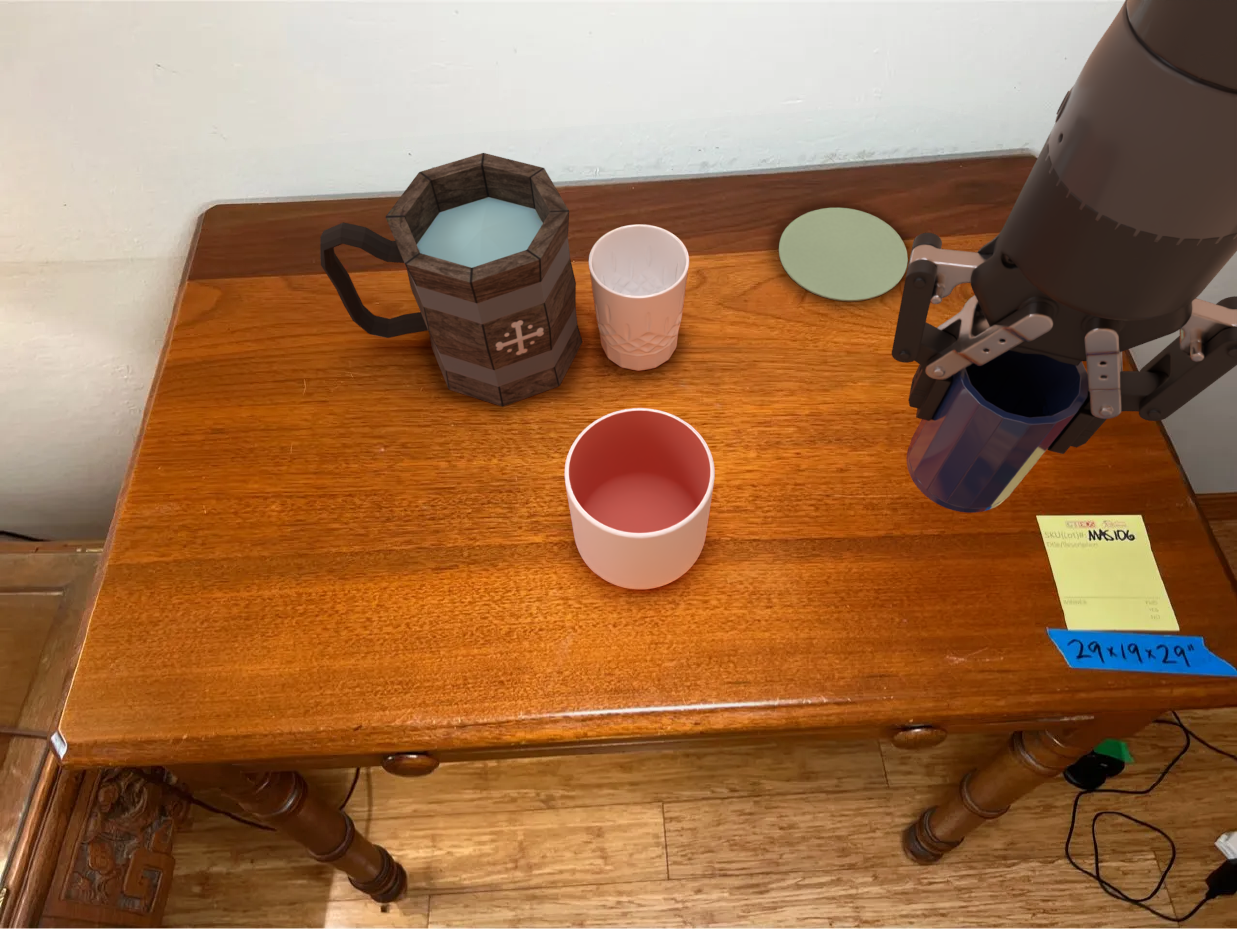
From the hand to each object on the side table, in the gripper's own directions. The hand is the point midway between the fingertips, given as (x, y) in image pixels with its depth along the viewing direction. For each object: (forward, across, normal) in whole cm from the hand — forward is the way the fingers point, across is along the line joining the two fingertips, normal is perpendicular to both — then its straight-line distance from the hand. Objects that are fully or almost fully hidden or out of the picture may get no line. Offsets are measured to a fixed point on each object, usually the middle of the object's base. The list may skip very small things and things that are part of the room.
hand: (989, 421), depth 43 cm
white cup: (+21, -24, +16) cm, 36 cm away
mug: (+21, -38, +11) cm, 45 cm away
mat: (+21, -9, +32) cm, 39 cm away
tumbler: (+5, 0, 0) cm, 5 cm away
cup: (+21, -19, -2) cm, 28 cm away
